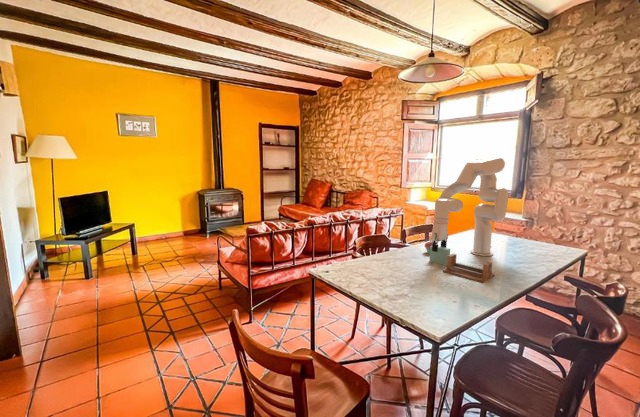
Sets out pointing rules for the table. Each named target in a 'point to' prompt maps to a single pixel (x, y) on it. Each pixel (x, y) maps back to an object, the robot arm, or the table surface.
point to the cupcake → (428, 245)
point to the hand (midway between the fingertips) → (439, 249)
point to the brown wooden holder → (468, 270)
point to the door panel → (439, 255)
